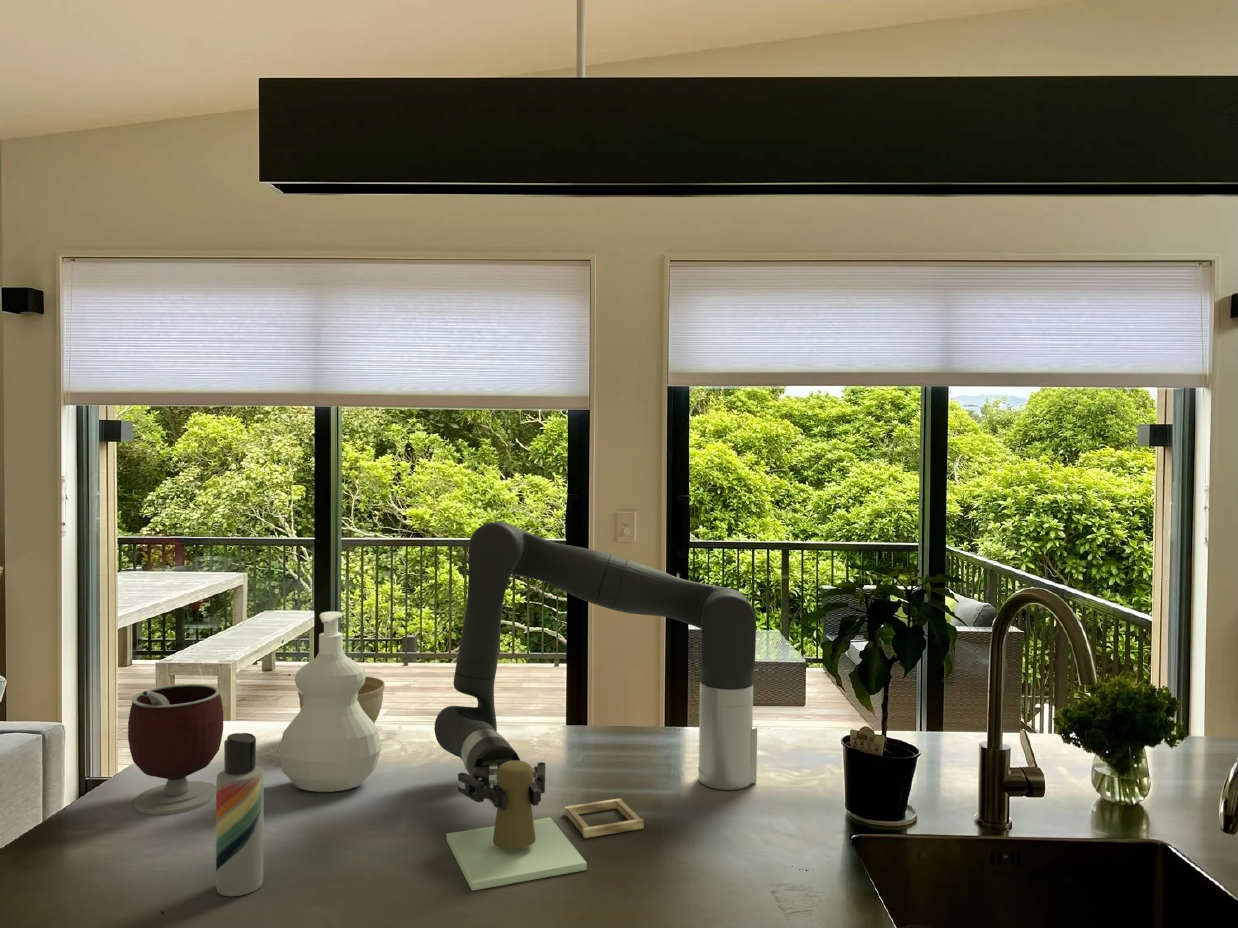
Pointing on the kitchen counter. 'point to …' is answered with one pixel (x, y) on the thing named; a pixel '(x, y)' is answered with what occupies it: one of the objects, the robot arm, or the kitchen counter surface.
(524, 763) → the cork
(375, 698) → the planter bowl
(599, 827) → the oak holder frame
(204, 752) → the mate gourd
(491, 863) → the sage board
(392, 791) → the kitchen counter surface
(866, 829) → the kitchen counter surface
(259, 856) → the lotion bottle
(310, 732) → the soap bottle
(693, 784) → the kitchen counter surface
